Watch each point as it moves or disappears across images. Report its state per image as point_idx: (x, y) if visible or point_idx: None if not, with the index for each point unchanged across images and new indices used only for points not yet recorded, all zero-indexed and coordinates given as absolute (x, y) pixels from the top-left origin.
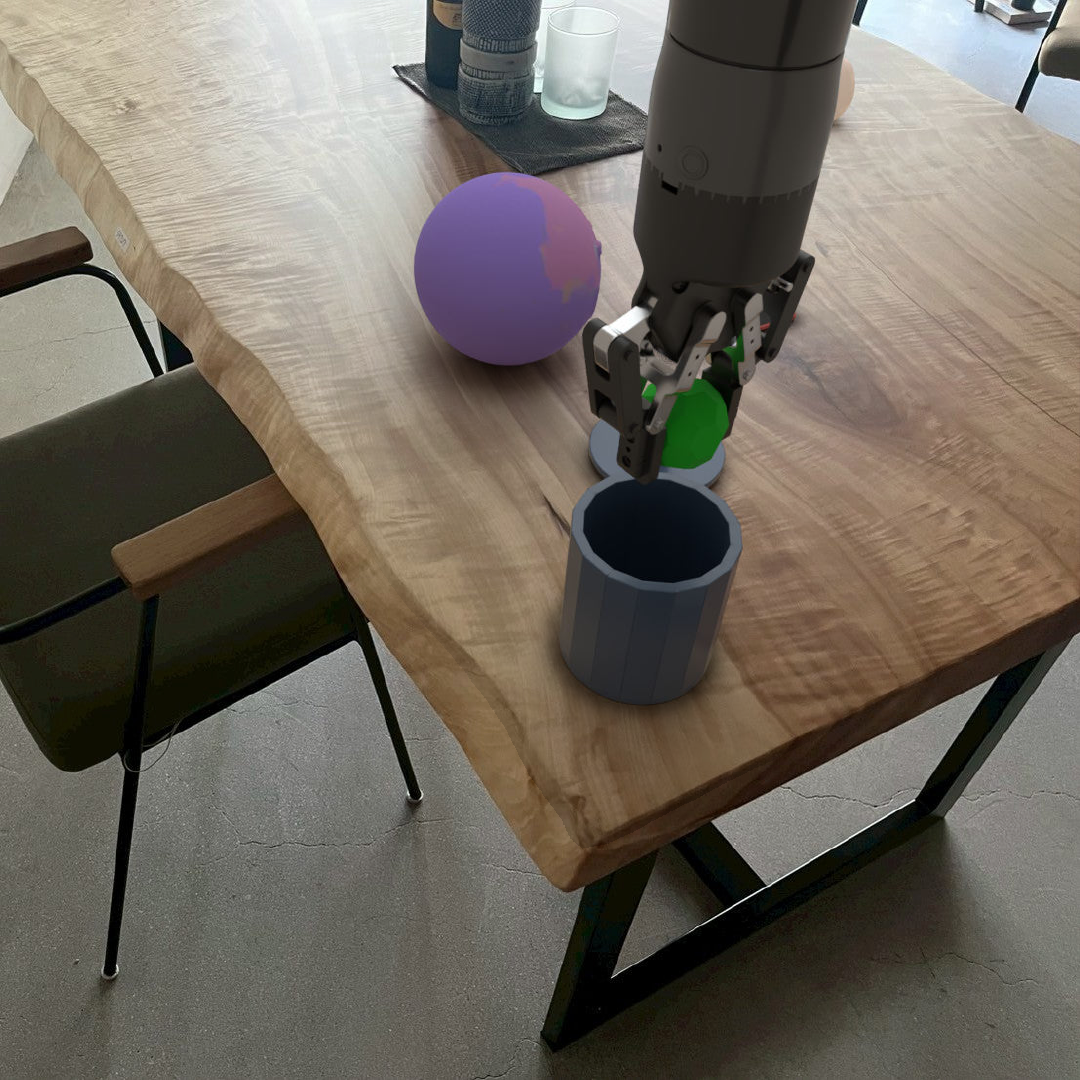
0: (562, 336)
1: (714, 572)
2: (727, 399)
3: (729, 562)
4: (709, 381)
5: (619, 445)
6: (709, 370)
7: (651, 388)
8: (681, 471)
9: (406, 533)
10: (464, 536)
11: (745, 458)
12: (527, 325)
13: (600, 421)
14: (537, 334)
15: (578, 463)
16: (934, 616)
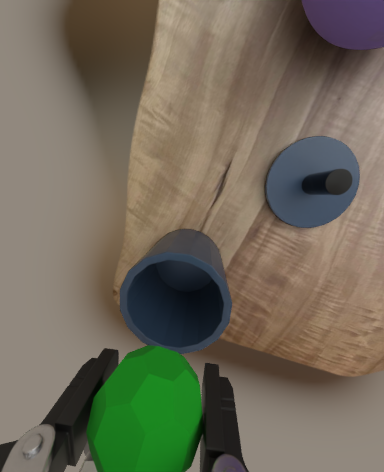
0: (367, 44)
1: (171, 349)
2: (200, 458)
3: (184, 351)
4: (204, 444)
5: (68, 386)
6: (212, 454)
7: (116, 420)
8: (301, 210)
9: (151, 127)
10: (174, 153)
11: (344, 223)
12: (346, 10)
13: (309, 138)
14: (347, 28)
15: (270, 153)
16: (296, 343)
